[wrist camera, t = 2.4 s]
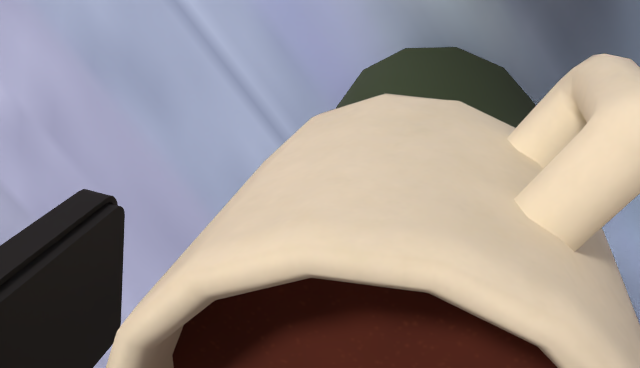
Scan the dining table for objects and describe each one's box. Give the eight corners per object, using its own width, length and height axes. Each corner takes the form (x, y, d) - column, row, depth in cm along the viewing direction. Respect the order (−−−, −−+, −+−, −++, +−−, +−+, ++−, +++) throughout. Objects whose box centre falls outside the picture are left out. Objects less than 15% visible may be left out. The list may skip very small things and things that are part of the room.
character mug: (418, 316, 21) (345, 786, 10) (254, 198, 21) (-21, 540, 10) (664, 71, 16) (1102, 438, 5) (454, -88, 16) (390, -100, 5)
